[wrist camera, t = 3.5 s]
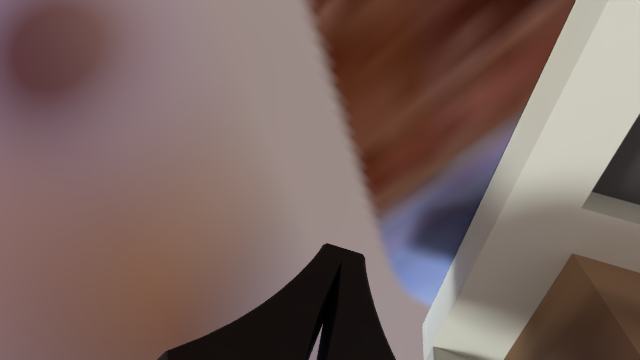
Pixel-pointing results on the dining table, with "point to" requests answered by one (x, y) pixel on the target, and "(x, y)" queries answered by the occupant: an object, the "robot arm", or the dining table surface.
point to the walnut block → (585, 316)
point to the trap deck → (551, 189)
